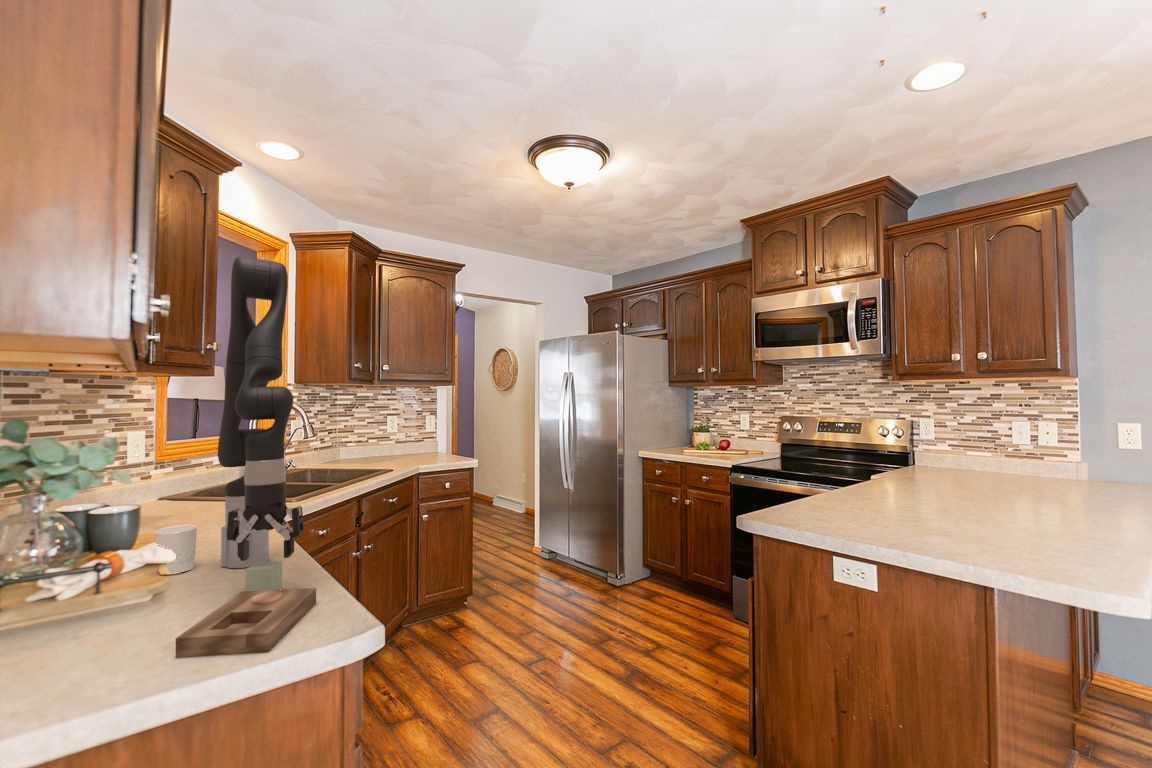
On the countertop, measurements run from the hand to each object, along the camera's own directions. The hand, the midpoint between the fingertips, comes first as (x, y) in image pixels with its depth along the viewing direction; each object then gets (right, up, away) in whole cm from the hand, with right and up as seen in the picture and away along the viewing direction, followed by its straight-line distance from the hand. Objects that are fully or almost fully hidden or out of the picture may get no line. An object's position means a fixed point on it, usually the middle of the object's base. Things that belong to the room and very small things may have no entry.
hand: (266, 558), depth 111 cm
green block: (0, -7, 0) cm, 7 cm away
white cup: (-30, -8, +15) cm, 35 cm away
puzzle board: (+7, -7, -16) cm, 19 cm away
